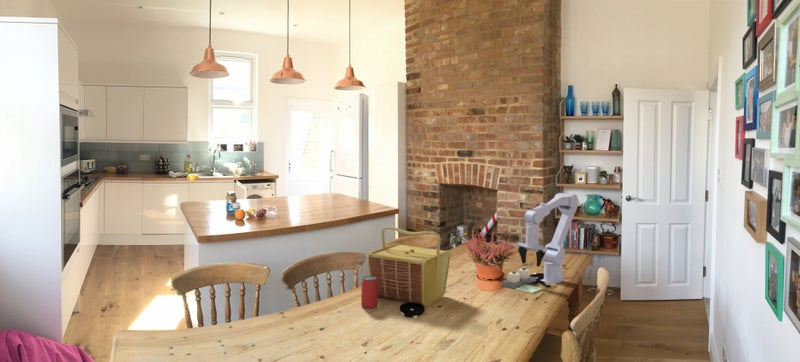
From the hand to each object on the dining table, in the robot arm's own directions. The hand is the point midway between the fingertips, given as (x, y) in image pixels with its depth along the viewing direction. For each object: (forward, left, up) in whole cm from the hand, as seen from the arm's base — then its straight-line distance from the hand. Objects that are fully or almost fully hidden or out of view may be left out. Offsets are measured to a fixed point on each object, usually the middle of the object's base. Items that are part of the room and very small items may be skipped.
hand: (531, 264), depth 245 cm
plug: (+6, -5, -11) cm, 13 cm away
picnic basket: (+53, -29, -11) cm, 61 cm away
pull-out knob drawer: (-3, -5, -11) cm, 12 cm away
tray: (+7, +3, -10) cm, 13 cm away
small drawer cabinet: (+1, -5, -10) cm, 12 cm away
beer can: (+74, -32, -11) cm, 81 cm away
